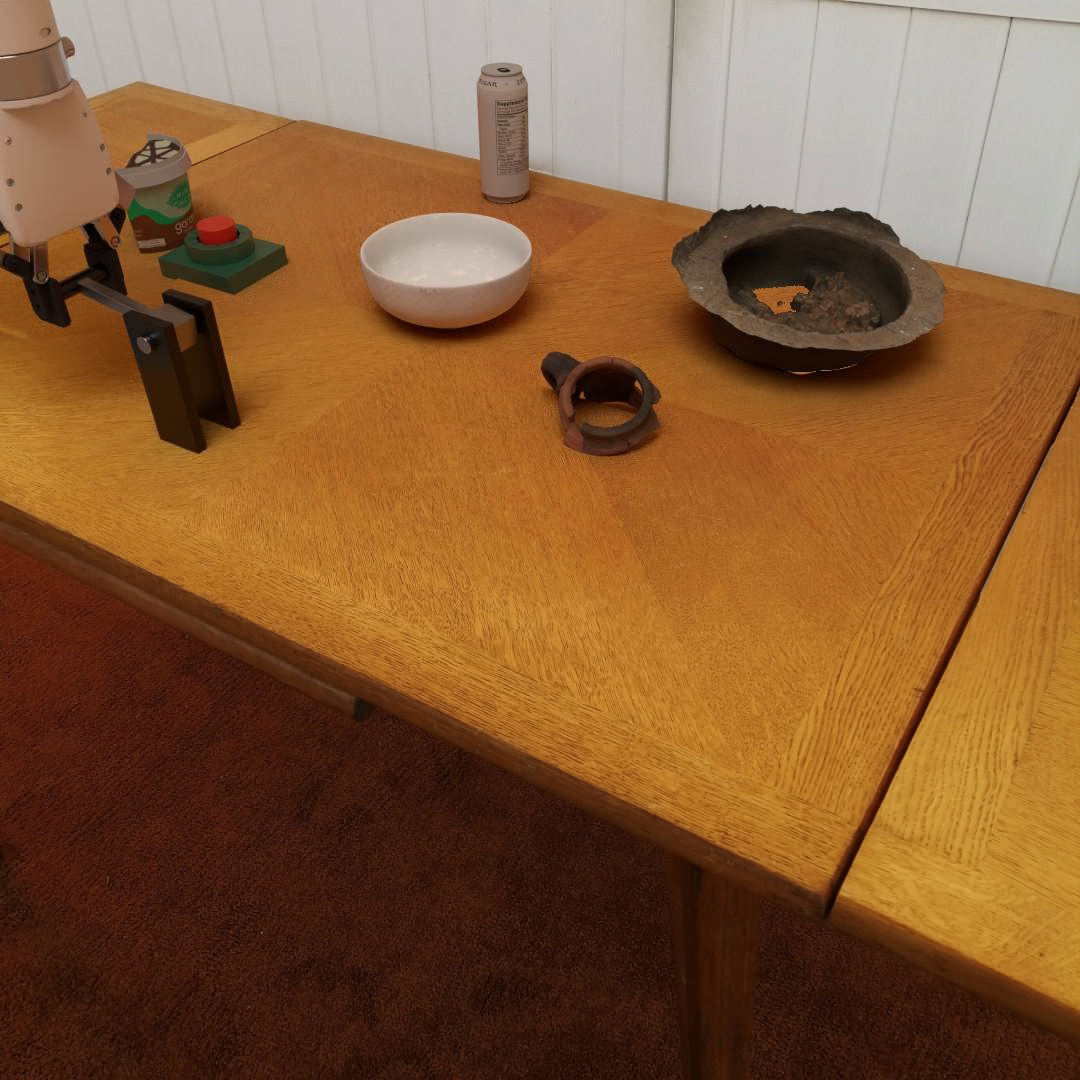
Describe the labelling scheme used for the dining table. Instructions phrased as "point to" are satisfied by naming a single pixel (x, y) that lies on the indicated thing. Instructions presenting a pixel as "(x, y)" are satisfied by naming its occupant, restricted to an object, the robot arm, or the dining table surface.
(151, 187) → the food container
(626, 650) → the dining table surface
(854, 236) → the stone bowl
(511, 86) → the energy drink can
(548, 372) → the pottery mug
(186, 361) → the bracket
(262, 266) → the button box
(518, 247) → the cereal bowl
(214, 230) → the button
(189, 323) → the lever
